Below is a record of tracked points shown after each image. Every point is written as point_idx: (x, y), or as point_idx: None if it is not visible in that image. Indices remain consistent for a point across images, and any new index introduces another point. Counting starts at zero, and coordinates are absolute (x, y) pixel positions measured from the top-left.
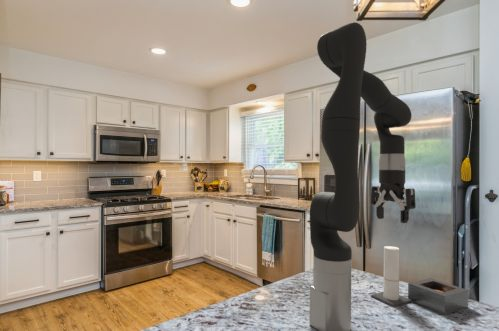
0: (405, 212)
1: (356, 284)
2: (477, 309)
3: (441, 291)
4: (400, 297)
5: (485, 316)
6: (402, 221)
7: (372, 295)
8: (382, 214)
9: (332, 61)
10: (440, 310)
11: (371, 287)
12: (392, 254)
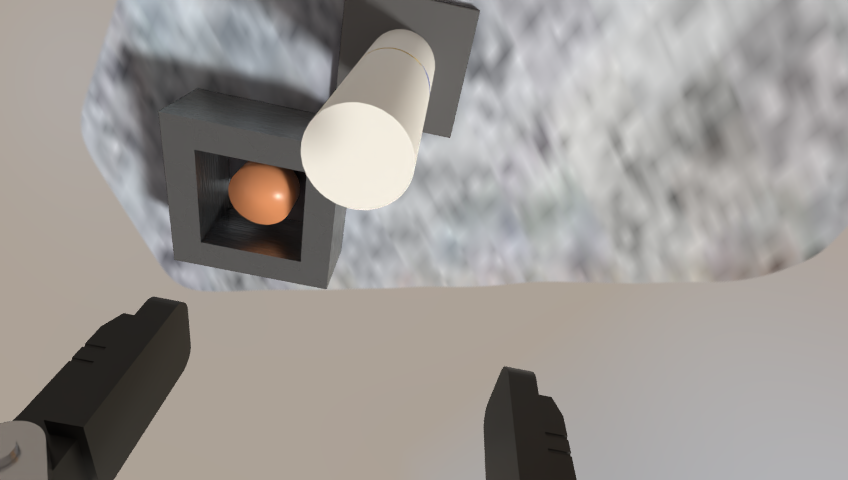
0: (28, 405)
1: (608, 107)
2: None
3: (258, 219)
4: None
5: (137, 192)
6: (146, 301)
7: (471, 10)
8: (491, 445)
9: None
10: (210, 95)
11: (535, 130)
12: (330, 100)
